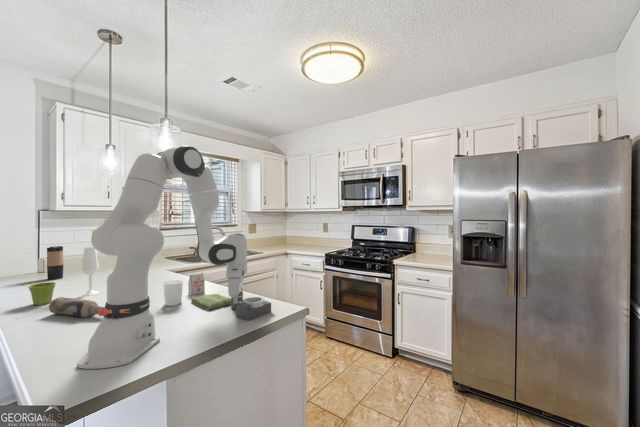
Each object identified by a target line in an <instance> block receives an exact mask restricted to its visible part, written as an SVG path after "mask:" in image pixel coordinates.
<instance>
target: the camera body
mask: <svg viewBox="0 0 640 427" xmlns="http://www.w3.org/2000/svg"><path fill="white" fill-rule="evenodd" d="M270 313H272V302H270V301H266V300H265V298H264V297H262V296H250V297H245V298H243V303H242V301H239V303H237V306H236V310H235V317H236V318H240V319H242V320H245V321H247V322H248V321H252V320H255V319H257V318H260V317H262V316H264V315H268V314H270Z"/></svg>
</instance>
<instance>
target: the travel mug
mask: <svg viewBox="0 0 640 427" xmlns="http://www.w3.org/2000/svg"><path fill="white" fill-rule="evenodd" d="M46 270H47V271H46V273H47V281H56V280H61V279H63V278H64V246H62V245H59V246H49V247H46Z"/></svg>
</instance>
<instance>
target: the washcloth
mask: <svg viewBox="0 0 640 427" xmlns="http://www.w3.org/2000/svg"><path fill="white" fill-rule="evenodd" d="M191 304H192V305H194V306H197V307H199V308H201V309H204V310H206V311H211V310H214V309H219V308H222V307H227V306H231V297H228V296H225V295H221V294H219V293H212V294H205V295H204V294H203V295H201V296H197V297H196V296H195V297H192V298H191Z"/></svg>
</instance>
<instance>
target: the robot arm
mask: <svg viewBox="0 0 640 427" xmlns="http://www.w3.org/2000/svg"><path fill="white" fill-rule="evenodd" d="M176 178H177V179H179V178H181V179H182V180H183V182H184V183H185V185H186V187H187V194H188V198H189V201H190V202H189V203H190V206H191V208H192V213H193V217H194V218H193V219H194V223H195V224H194V225H195V229H196V230H195V231H196V234H197V245H196V246H197V247H196V256H197V258H198V259H199V260H200V261H201V262H203V263H206V264H211V265H214V266H222V265H226V268H225V269H226V271H225V272H226V274H225V278H226V279H227V290H228V296H229V298H231V297H233V299H234V304H237V303H238V295H239V293H240V291H242V288H243V286H244V283H245V282H244V281H245V279H244V278H245V275H247V274H248V258H247V254H248V242H247V238H246V236H245V235H244V234H243V233H237V232H229V233H227V234H226V235H225V236H224V237H223V238H220V239H219V240H216V239H215V238H214V233H213V232H214V231H213V226H212V217H213V214H214V213H215V212H216V211H217V209H218V208H219V205H220V197H219V192H218V191H219V190H218V186H217V184H216V180H215V176H214V175H213V172H212V170H211V168H210V167H208V166H207V165H206V164H205V161H204V158H203V156H202V154H201V152H200V151H199V150H198V149H197V148H196V147H194V146H191V145H181V146H177V147H172V148H171V147H170V148H168V149H165V150H164V151H160V152H158V153H157V154H155V153H148V152H147V153H146V152H145V153H142V154H139V156H137V158H136V159H135V161H134V162H133V164H132V167H131V168H130V170H129V173H128V175H127V177H126V180H125V183H124V186H123V188H122V191H121V194H120V198H119V199H118V202H117V204H116V205H115V206H114V208H113V210H112V211H111V213H110V214H109V215H108V217H107V218H106V220H105V221H104V222H103V223H102V224H101V225H100V226H98V227H96V229H94V231H93V232H92V234H91V239H90V240H91V245H92V247H94V248H95V249H96V250H97V252H99V253H102V254H103V255H106V256H111V257H116V262H115V266H114V269H113V270H112V272H111V273H109V275H108V276H107V277H106V278H107V279H106V302H105V305H104V306H103V307H104V309H100V310H99V313H98V314H97V315H98V316H99V317H103V318H102V320H101V322H100V323H99V324H98V326H97V327H96V329H95V331H94V333H93V335H92V336H91V338H90V339H89V342H88V346H87V347H88V349H87V351H86V353H85V354H84V355H83V356H82V357H81V358H80V359H79V360H78V362H77V363H76V368H79V369H84V370H92V369H93V370H96V369H97V370H98V369H108V368H115V367H120V366H124V365H129V364H130V363H132V362H133V361H135V360H136V359H137V358H139V357H141V356H142V354H144V353H145V352H147V351H148V350H149V349H150V348H152V347H154V346H155V345H156V344H157V343H159V342H160V341H161V338H160V336H158V335H156V325H155V316H154V314H152V312H151V310H150V306H151V305H150V303H151V299H150V296H149V274H150V270H151V265H152V264H153V263H152V262H153V260H154V258H155V257H156V255H158V254H159V253H160V252H161V250H162V249H163V247H164V244H165V243H164V242H165V237H164V233H163V232H162V231H161V230H160V229H159V228H158V227H156V226H154V225H150V224H147V223H145V222H146V221H147V220H148V219H149V217H151V215H153V214H154V213H155V212H156V211H157V210H158V209H159V208H158V207H159V204H160V201H161V199H162V198H161V197H162V195H163V194H162V193H163V190H164V187H165V183H166V181H167V180H170V179H176Z"/></svg>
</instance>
